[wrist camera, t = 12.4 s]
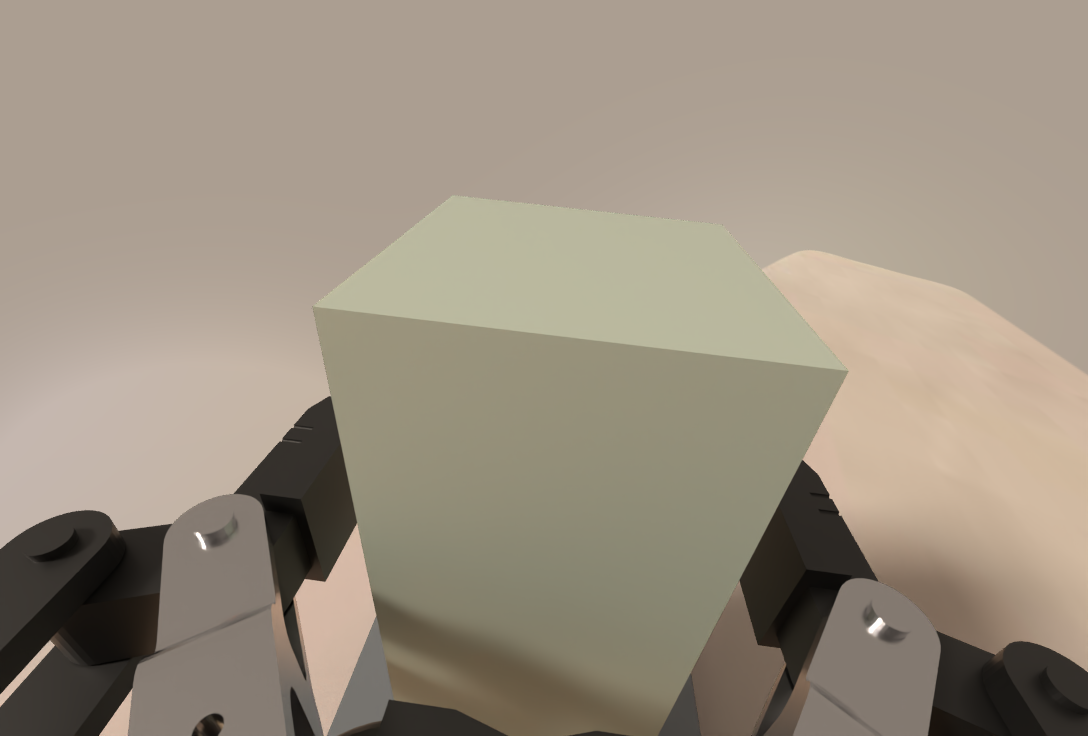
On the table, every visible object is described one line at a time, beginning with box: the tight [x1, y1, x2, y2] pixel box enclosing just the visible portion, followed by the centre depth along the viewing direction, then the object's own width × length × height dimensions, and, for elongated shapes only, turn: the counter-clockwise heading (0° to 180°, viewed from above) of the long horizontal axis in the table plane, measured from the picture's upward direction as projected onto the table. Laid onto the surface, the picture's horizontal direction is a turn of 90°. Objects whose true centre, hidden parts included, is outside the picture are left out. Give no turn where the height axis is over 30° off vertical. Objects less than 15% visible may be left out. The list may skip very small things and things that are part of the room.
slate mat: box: [327, 616, 701, 736], centre depth 15 cm, size 12×12×1 cm
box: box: [313, 195, 848, 736], centre depth 11 cm, size 5×5×16 cm
